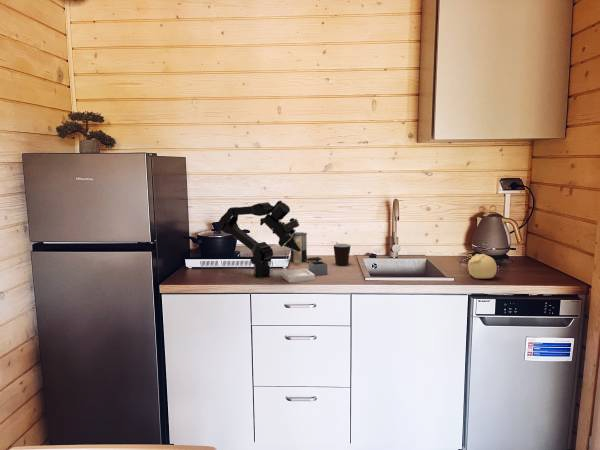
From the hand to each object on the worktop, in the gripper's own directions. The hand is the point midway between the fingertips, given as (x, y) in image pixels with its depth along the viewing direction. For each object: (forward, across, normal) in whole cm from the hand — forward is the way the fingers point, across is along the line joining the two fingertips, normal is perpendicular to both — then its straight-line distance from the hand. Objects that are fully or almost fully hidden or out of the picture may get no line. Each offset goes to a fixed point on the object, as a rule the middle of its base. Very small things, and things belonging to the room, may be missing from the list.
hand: (300, 250), depth 200 cm
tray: (+8, 0, +10) cm, 13 cm away
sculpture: (+66, +6, -48) cm, 82 cm away
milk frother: (+9, +34, +10) cm, 36 cm away
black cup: (+23, +29, -4) cm, 37 cm away
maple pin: (+4, 0, +6) cm, 7 cm away
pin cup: (+14, +9, +4) cm, 17 cm away
